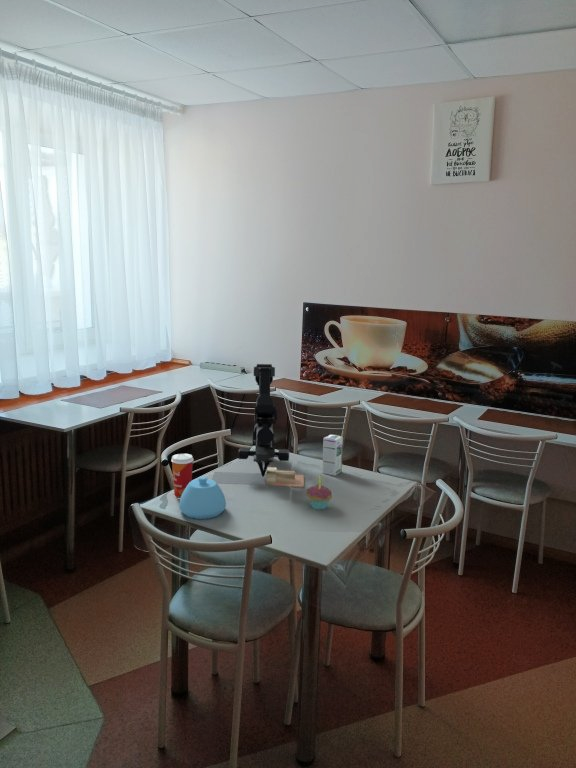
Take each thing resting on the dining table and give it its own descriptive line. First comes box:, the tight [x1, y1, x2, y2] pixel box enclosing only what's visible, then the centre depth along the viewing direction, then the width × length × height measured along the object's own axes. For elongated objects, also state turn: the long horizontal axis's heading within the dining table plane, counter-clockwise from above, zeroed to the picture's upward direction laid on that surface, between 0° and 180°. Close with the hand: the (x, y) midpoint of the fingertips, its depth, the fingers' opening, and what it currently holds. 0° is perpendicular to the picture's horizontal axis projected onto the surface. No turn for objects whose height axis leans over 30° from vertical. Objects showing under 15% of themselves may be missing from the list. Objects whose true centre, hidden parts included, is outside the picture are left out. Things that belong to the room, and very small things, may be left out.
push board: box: [211, 471, 305, 488], centre depth 234 cm, size 12×34×1 cm, turn 89°
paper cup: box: [170, 453, 195, 499], centre depth 216 cm, size 8×8×14 cm
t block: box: [265, 466, 296, 484], centre depth 233 cm, size 10×10×3 cm
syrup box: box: [322, 434, 344, 476], centre depth 243 cm, size 6×6×14 cm
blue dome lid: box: [178, 476, 227, 520], centre depth 204 cm, size 15×15×12 cm
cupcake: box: [306, 474, 333, 510], centre depth 210 cm, size 9×8×12 cm
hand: (263, 476), depth 234 cm, fingers closed
